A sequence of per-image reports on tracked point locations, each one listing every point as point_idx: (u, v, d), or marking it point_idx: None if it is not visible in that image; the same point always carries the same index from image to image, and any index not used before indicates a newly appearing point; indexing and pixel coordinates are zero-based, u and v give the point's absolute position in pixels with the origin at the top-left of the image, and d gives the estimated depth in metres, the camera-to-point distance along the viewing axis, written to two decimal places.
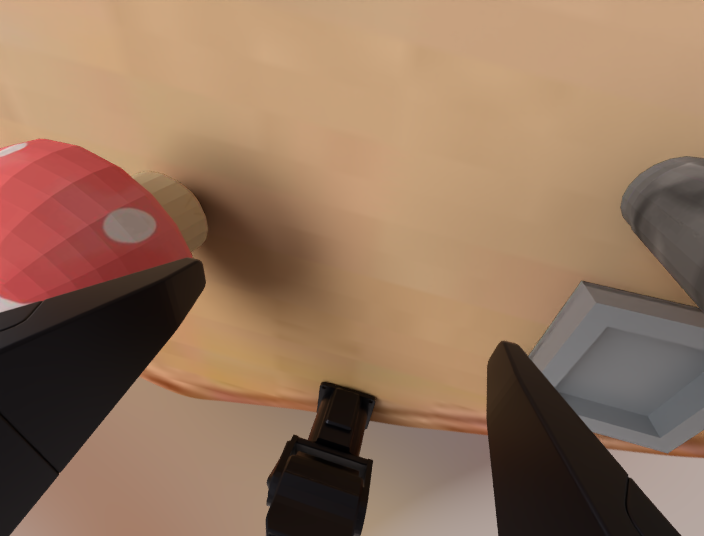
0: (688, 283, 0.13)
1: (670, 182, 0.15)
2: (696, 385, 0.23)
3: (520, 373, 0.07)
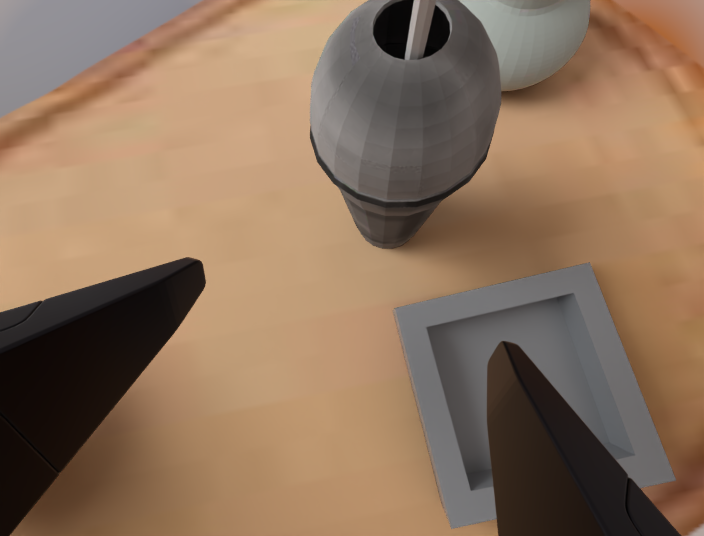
0: (354, 209, 0.16)
1: None
2: (583, 360, 0.20)
3: (520, 373, 0.07)
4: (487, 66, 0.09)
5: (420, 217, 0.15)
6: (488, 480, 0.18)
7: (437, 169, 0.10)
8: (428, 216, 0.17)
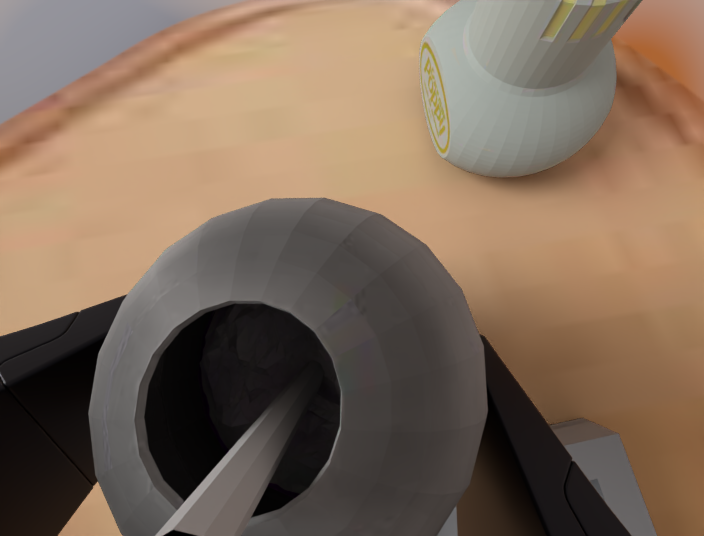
0: None
1: None
2: None
3: None
4: (448, 445, 0.04)
5: None
6: None
7: None
8: None
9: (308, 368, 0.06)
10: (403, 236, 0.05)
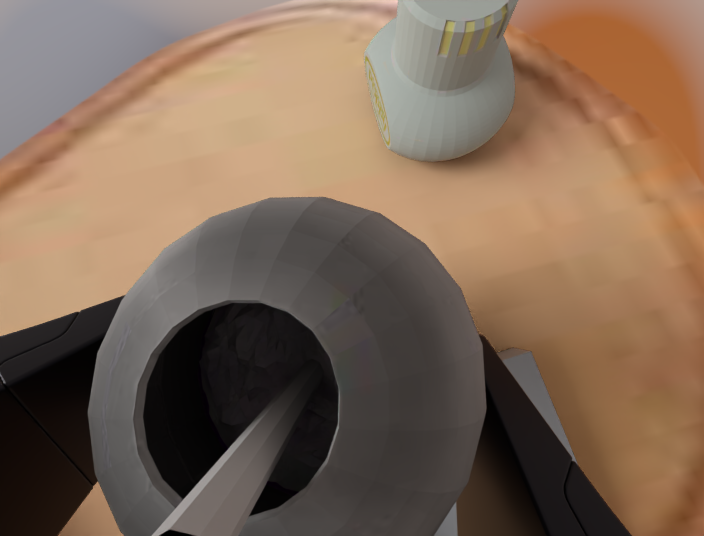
0: None
1: None
2: None
3: None
4: (446, 444, 0.04)
5: None
6: None
7: None
8: None
9: (307, 367, 0.06)
10: (402, 235, 0.05)
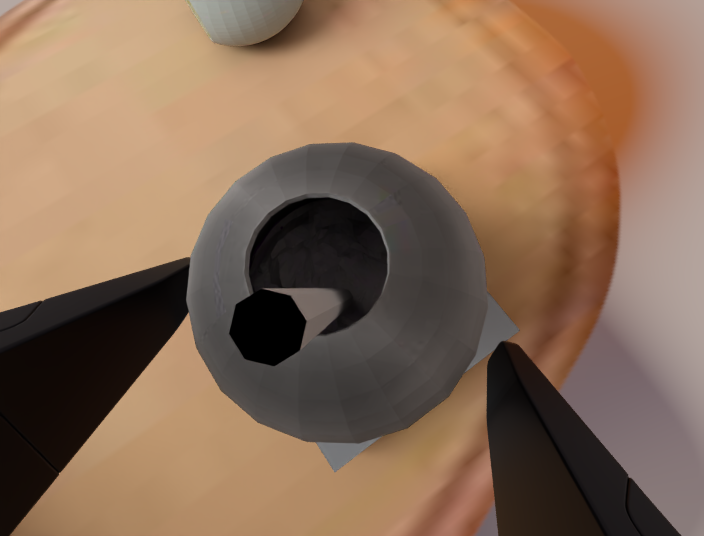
0: None
1: None
2: None
3: (520, 373, 0.07)
4: (460, 304, 0.05)
5: None
6: None
7: (384, 434, 0.06)
8: None
9: (341, 288, 0.08)
10: (421, 169, 0.06)
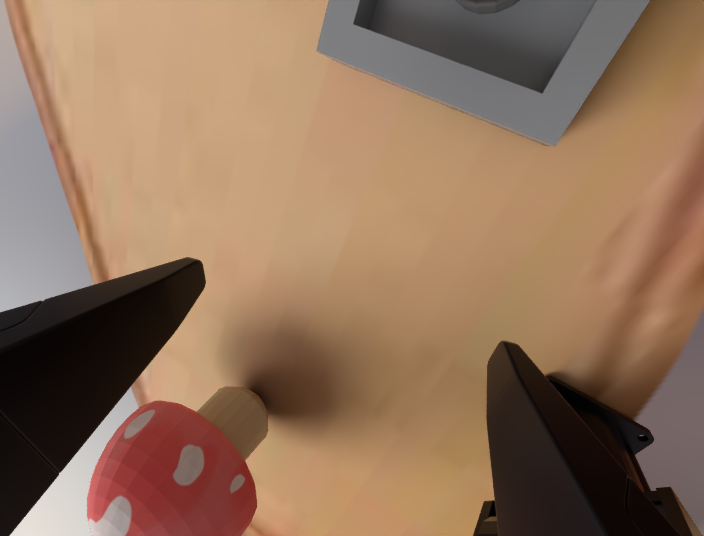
0: None
1: None
2: None
3: (520, 373, 0.07)
4: None
5: None
6: (559, 63, 0.13)
7: None
8: None
9: None
10: None
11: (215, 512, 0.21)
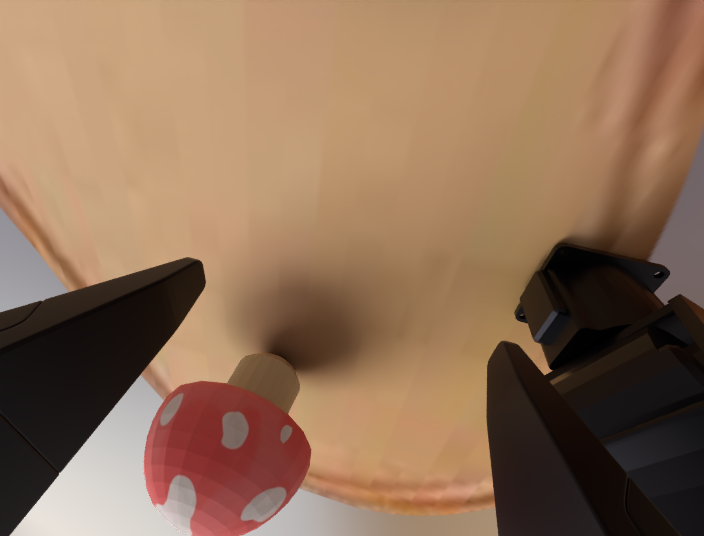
0: None
1: None
2: None
3: (520, 373, 0.07)
4: None
5: None
6: None
7: None
8: None
9: None
10: None
11: (273, 463, 0.22)
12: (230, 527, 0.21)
